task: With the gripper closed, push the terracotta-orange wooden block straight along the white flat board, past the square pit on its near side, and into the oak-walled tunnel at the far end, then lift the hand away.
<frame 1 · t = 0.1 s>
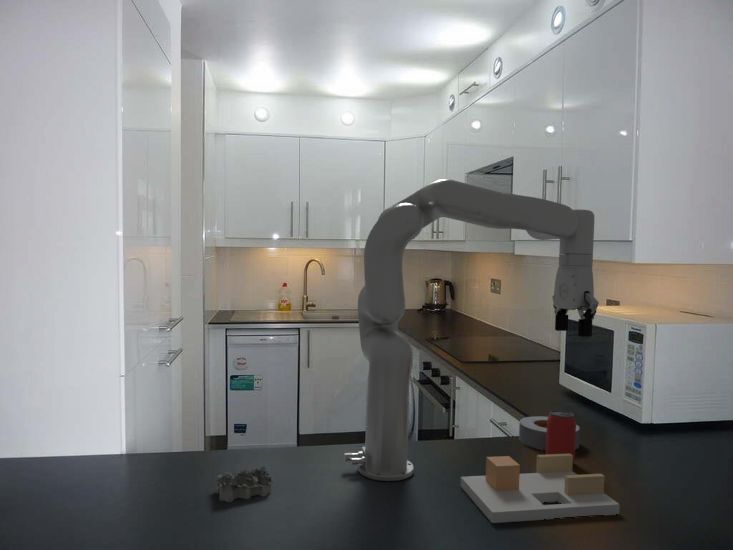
hand: (572, 333, 128), 31 cm above the counter, tool pointing down, fingers open, 9 cm apart
tape roll: (548, 443, 144), on the counter
block: (501, 485, 110), point 2 cm above the counter, touching white flat board
beer can: (559, 463, 129), on the counter
white flat board: (535, 499, 108), on the counter
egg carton: (243, 493, 108), on the counter
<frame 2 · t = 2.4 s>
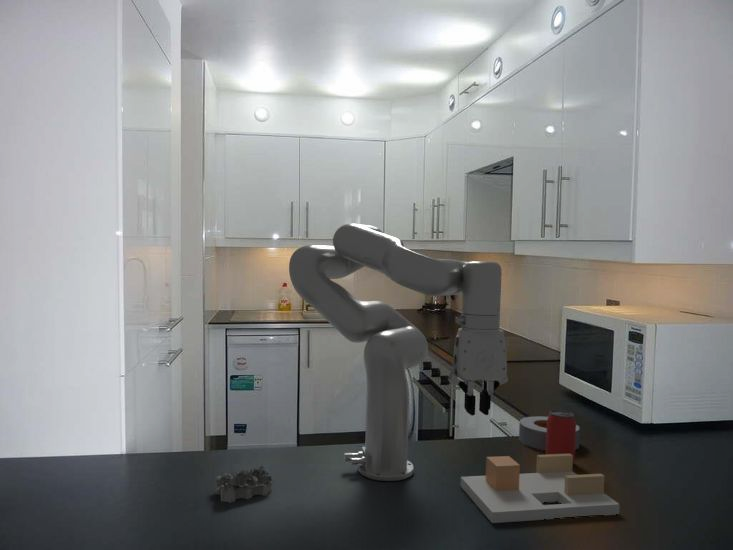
hand: (477, 412, 108), 17 cm above the counter, tool pointing down, fingers closed
nothing on the counter moved.
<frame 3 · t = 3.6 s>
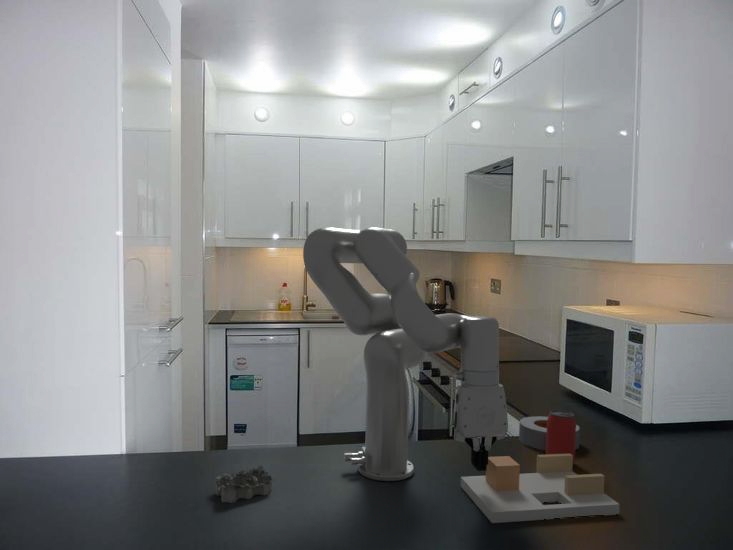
hand: (479, 468, 108), 6 cm above the counter, tool pointing down, fingers closed
nothing on the counter moved.
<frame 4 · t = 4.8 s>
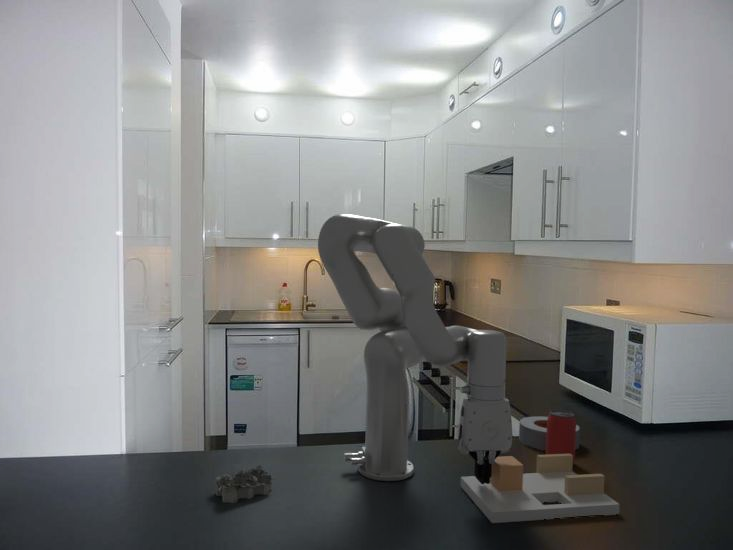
hand: (482, 481, 109), 3 cm above the counter, tool pointing down, fingers closed
block: (505, 485, 110), point 2 cm above the counter, touching white flat board, gripper
everything else where it was.
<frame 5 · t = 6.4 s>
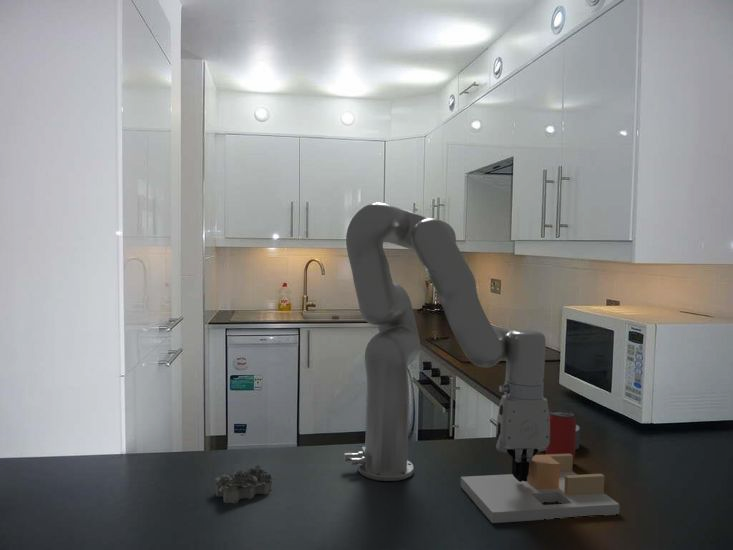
hand: (519, 478, 111), 3 cm above the counter, tool pointing down, fingers closed
block: (541, 483, 111), point 2 cm above the counter, touching white flat board, gripper
everything else where it was.
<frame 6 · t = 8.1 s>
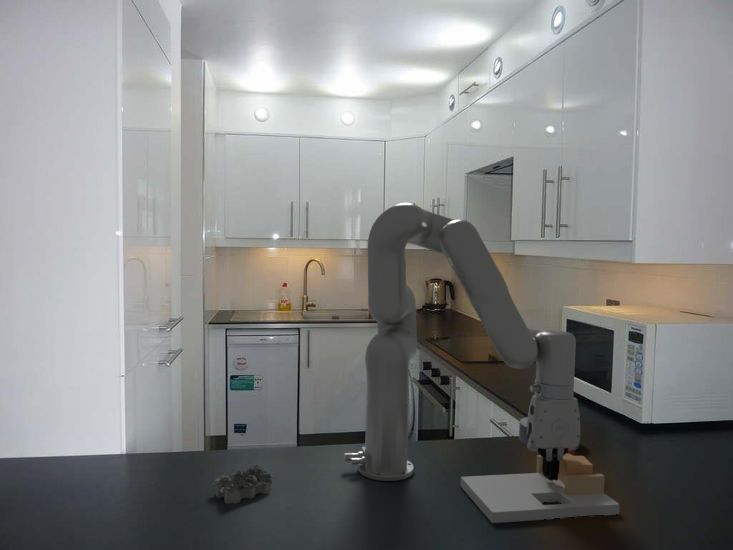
hand: (550, 477, 112), 3 cm above the counter, tool pointing down, fingers closed
block: (574, 483, 112), point 2 cm above the counter, touching white flat board, gripper
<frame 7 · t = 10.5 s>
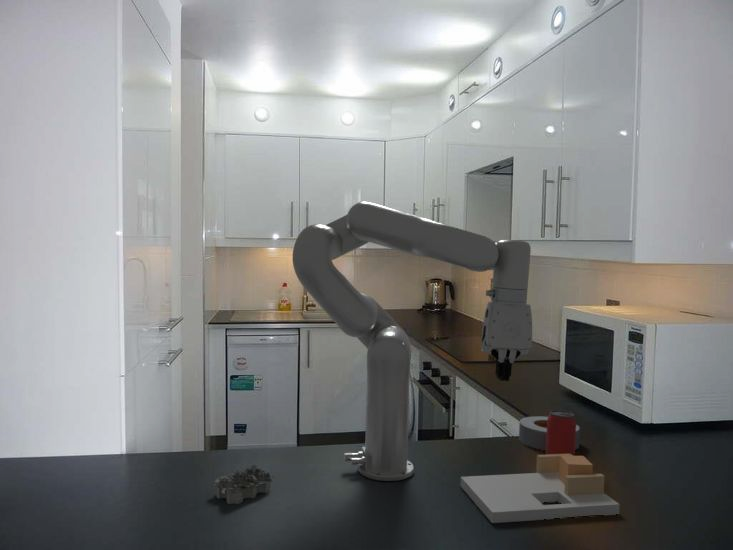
hand: (502, 379, 118), 22 cm above the counter, tool pointing down, fingers closed
block: (574, 483, 112), point 2 cm above the counter, touching white flat board
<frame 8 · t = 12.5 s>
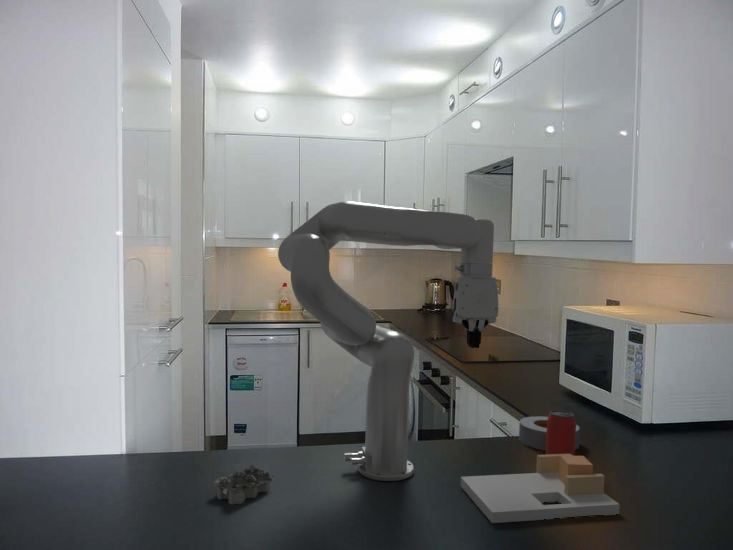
hand: (473, 347, 129), 27 cm above the counter, tool pointing down, fingers closed
at the end: block inside the target area (1.2 cm from its centre), point 2.0 cm above the counter; block tilted 0° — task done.
